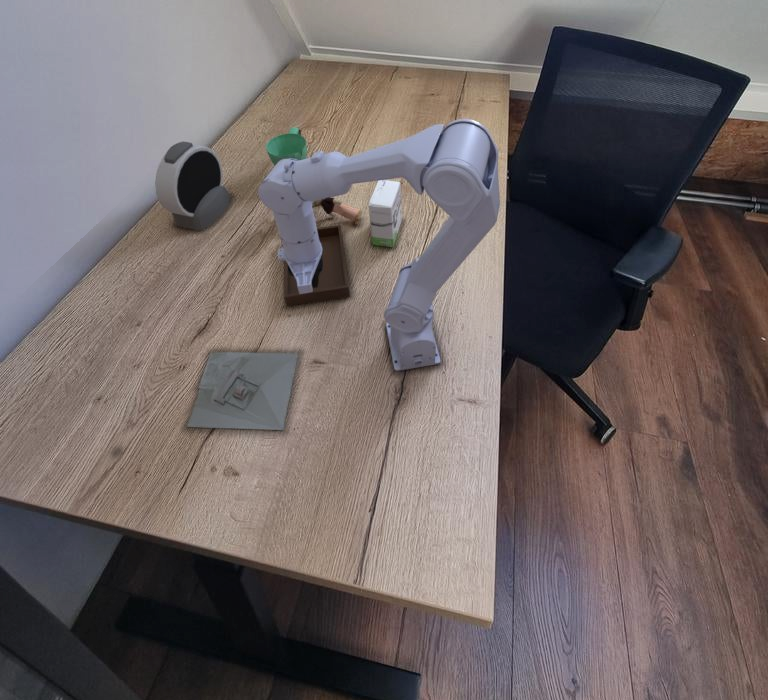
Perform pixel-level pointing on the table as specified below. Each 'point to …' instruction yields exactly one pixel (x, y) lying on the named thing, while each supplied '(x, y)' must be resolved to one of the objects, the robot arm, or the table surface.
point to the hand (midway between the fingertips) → (311, 285)
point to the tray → (323, 271)
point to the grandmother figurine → (339, 209)
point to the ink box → (385, 212)
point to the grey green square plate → (244, 391)
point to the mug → (287, 146)
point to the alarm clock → (191, 185)
